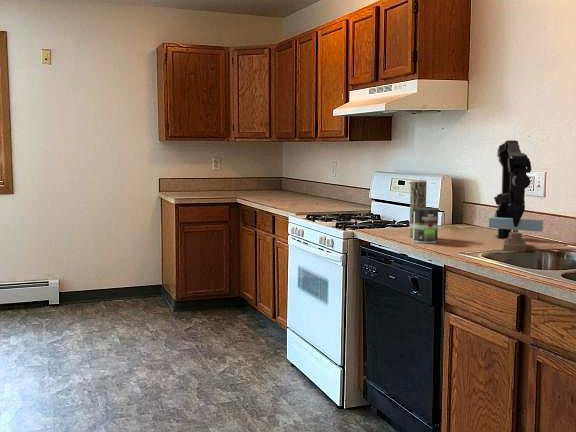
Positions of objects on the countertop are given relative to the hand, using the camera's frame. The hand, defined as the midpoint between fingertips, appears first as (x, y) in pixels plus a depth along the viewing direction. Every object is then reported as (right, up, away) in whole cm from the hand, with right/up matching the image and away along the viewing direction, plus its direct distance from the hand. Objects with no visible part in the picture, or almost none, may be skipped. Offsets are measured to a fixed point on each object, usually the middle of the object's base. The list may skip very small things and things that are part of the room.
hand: (515, 226), depth 252 cm
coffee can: (-33, -7, +15) cm, 37 cm away
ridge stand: (0, -8, +1) cm, 9 cm away
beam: (0, -1, 0) cm, 1 cm away
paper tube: (-34, -5, +27) cm, 44 cm away
